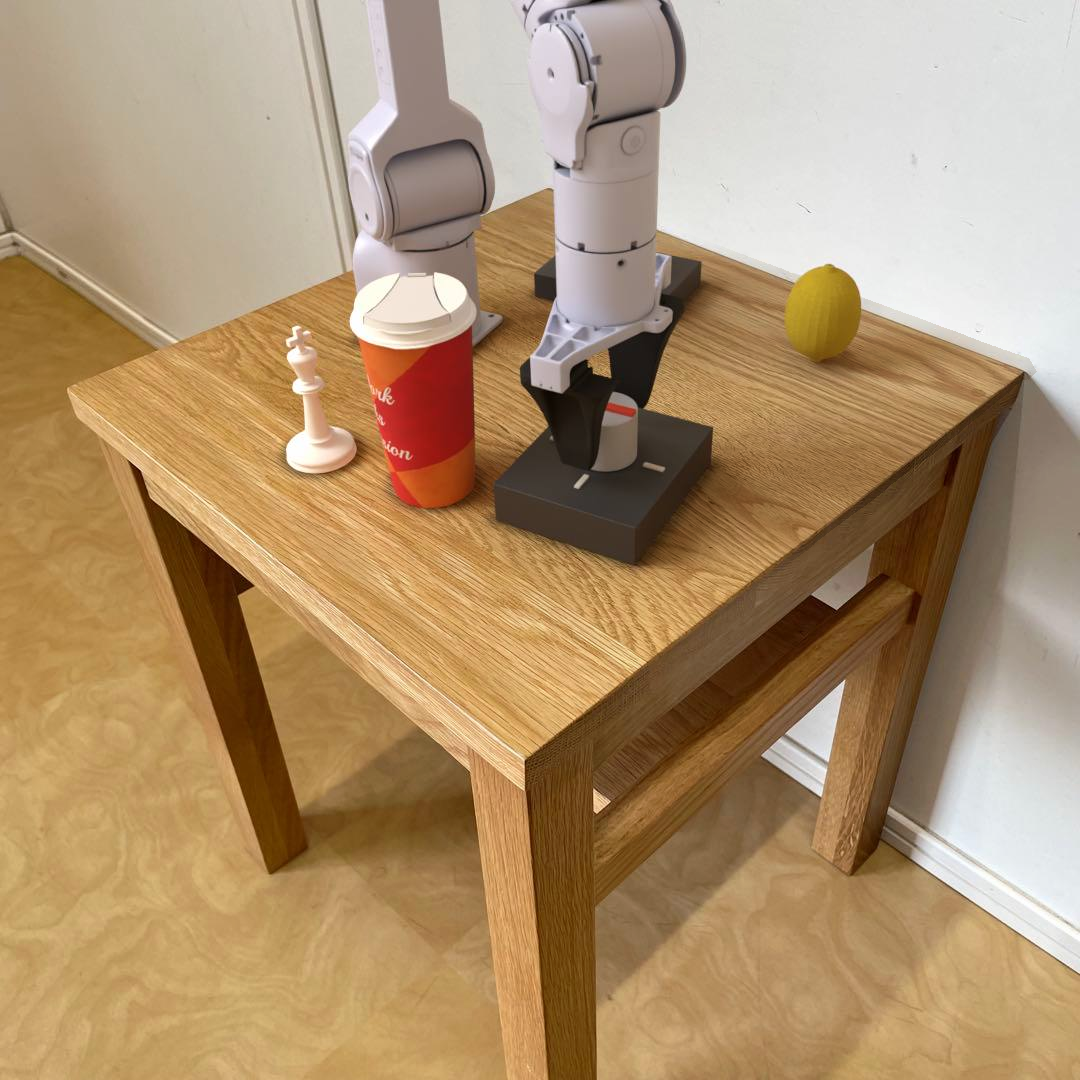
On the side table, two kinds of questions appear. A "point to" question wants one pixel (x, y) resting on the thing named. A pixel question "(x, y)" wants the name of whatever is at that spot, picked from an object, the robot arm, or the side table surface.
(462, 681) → the side table surface
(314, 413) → the chess piece
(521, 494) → the panel
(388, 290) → the paper cup
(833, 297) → the lemon
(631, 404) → the timer dial
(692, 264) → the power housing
